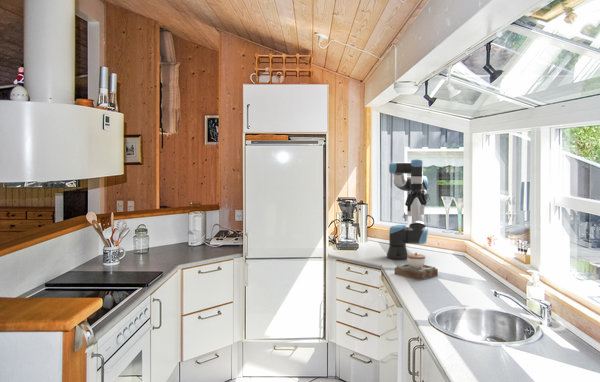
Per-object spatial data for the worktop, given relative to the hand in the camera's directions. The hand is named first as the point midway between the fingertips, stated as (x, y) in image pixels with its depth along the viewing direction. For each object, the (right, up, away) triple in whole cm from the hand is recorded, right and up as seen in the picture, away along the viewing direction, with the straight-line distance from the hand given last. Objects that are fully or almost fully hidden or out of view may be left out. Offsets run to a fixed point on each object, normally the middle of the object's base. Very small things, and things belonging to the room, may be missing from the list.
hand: (415, 215), depth 281 cm
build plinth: (-5, -35, -20) cm, 40 cm away
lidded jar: (-5, -31, -20) cm, 37 cm away
